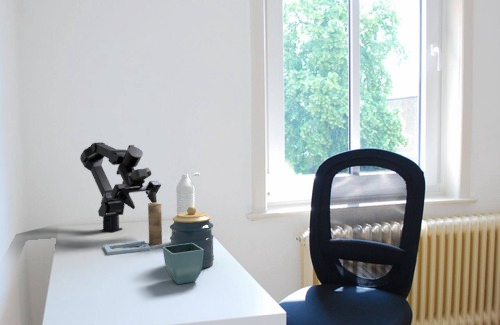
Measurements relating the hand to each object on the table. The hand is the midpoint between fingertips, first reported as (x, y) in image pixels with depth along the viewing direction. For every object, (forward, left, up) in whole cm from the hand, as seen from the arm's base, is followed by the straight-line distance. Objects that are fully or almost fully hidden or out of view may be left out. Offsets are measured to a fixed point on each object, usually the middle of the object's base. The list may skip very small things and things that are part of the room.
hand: (145, 206), depth 173 cm
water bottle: (-4, +16, -13) cm, 21 cm away
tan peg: (+3, +6, -13) cm, 14 cm away
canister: (+23, +31, -13) cm, 41 cm away
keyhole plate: (+13, 0, -13) cm, 18 cm away
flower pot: (+38, +36, -13) cm, 54 cm away
